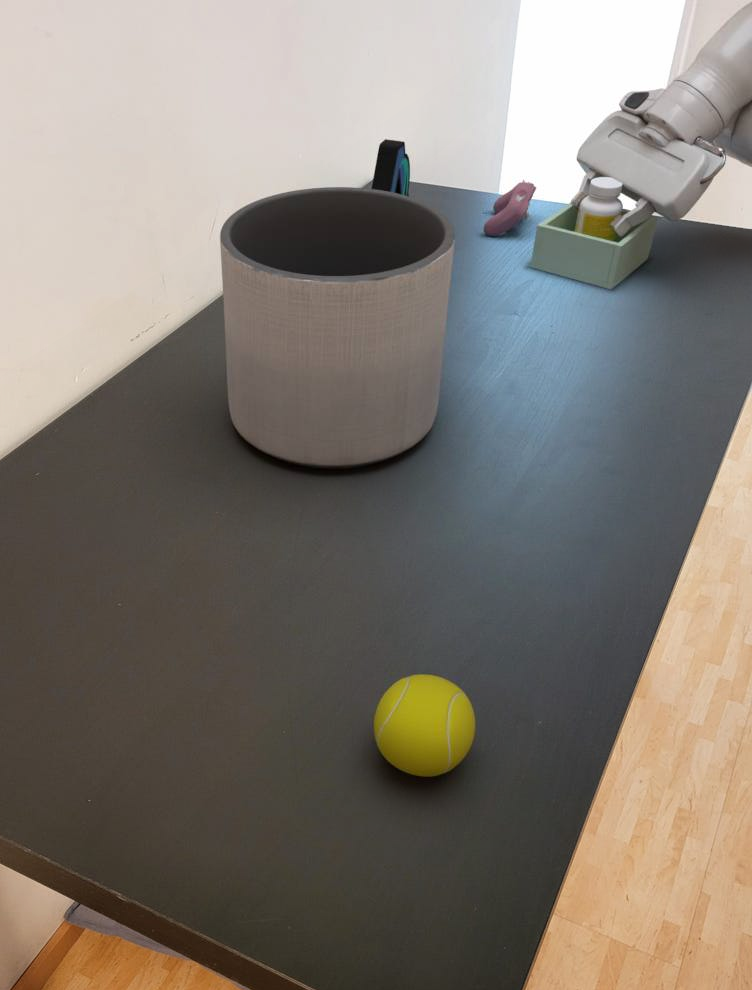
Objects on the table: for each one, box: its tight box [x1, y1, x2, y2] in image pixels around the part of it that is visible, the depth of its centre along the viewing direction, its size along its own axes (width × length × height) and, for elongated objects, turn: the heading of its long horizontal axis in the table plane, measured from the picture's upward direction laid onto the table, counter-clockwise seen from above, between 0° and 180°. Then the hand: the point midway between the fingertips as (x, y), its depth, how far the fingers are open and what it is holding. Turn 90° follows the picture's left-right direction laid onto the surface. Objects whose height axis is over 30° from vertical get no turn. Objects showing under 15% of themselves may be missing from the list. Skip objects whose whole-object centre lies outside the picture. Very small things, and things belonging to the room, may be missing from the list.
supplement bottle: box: [574, 177, 624, 242], centre depth 123 cm, size 5×5×10 cm
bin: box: [529, 202, 659, 290], centre depth 124 cm, size 12×12×6 cm
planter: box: [219, 186, 456, 469], centre depth 93 cm, size 22×22×20 cm
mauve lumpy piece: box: [483, 179, 537, 237], centre depth 134 cm, size 10×5×7 cm, turn 161°
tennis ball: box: [373, 673, 476, 778], centre depth 66 cm, size 7×7×7 cm
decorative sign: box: [371, 138, 411, 197], centre depth 123 cm, size 19×2×15 cm, turn 155°
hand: (594, 219), depth 122 cm, fingers open, 7 cm apart
